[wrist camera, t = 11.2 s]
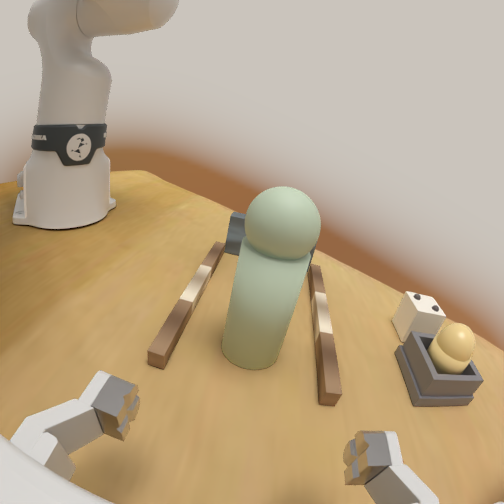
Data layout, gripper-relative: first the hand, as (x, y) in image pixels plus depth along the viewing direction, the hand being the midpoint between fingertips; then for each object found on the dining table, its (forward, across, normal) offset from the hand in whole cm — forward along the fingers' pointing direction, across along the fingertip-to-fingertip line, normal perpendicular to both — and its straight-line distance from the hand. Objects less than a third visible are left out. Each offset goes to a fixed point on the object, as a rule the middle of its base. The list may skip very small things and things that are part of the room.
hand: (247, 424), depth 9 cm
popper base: (+12, +18, -7) cm, 22 cm away
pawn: (+12, 0, -7) cm, 14 cm away
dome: (+11, +18, -5) cm, 22 cm away
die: (+19, +18, -7) cm, 27 cm away
